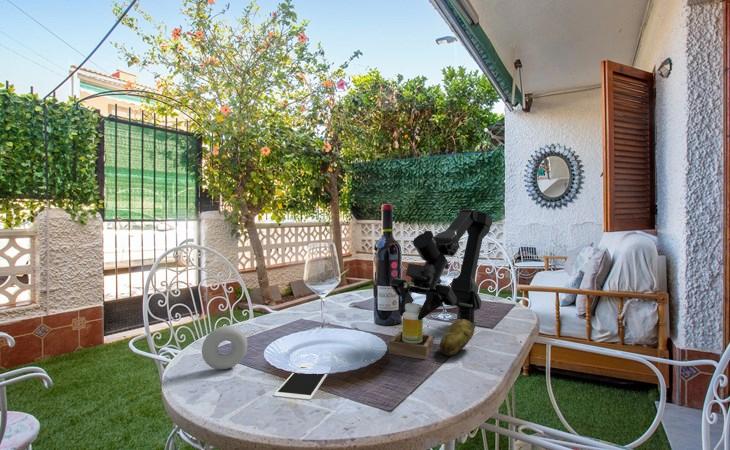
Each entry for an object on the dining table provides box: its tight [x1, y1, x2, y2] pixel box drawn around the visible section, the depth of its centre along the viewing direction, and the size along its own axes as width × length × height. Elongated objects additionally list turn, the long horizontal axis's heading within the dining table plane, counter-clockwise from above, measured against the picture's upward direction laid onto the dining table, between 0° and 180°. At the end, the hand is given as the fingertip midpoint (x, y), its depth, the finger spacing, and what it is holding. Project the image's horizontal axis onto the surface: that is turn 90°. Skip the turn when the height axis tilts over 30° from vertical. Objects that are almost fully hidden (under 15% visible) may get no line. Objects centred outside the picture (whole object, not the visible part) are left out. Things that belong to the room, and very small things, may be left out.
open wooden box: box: [388, 330, 434, 360], centre depth 99 cm, size 10×10×3 cm
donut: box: [201, 325, 249, 370], centre depth 85 cm, size 10×4×10 cm, turn 118°
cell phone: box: [272, 363, 329, 401], centre depth 80 cm, size 8×16×1 cm, turn 170°
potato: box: [439, 318, 475, 357], centre depth 99 cm, size 8×13×8 cm, turn 122°
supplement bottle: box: [401, 302, 424, 344], centre depth 99 cm, size 5×5×10 cm
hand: (409, 317), depth 98 cm, fingers closed on supplement bottle, 5 cm apart
